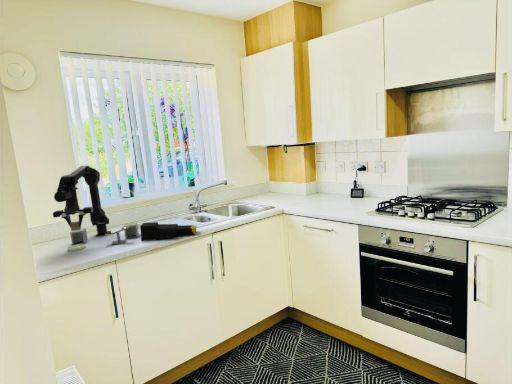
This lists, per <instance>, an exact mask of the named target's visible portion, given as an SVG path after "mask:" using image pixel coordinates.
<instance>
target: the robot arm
mask: <svg viewBox="0 0 512 384" xmlns="http://www.w3.org/2000/svg"><path fill="white" fill-rule="evenodd" d="M81 178H83V179H84V182H85V184H87V185H88V188H89V189H88V190H89V196H90V202H91V206H85V207H83V208H80V205H79V199H78V195H77V190H78V186H77V184H78V183H79V180H80V179H81ZM100 179H101V173H100V172H99V171H98V170H97V169H96V168H94V167H93V168H92V167H90V165H80V166H79V167H78V168H76V169H75V170H73V172H71V173H68V174H65V175H63V176H61V177H60V179H59V183H58V185H57V189H56V191H55V193H54V196H53V197H54V200H55V201H56V202H57V203H63V202H65V207H64V209H59V210H55V211H53V212H52V217H53V218H60V217H61V219H64V220H65V222H66V223H67V224H68V226H69V228H70V229H71V226H70V223H71V222H72V219H71V216H72V215H73V216H74V215H76V214H78V216H77V217H78V221H79V226H80V227H81V228H82V223H83V218H84V216H85V215H87V214H89V217H90V218H89V219H90V222H91V225H92V226H93V227H95V228H96V236H106V235H105V234H107V231H108V229H107V228H108V227H107V225H109V224H110V218H108V216H107V215H106V212H105V211H104V209H103V208H102V204H101V197H100V192H99V182H100Z"/></svg>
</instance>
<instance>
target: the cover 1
mask: <svg viewBox="0 0 512 384" xmlns="http://www.w3.org/2000/svg"><path fill="white" fill-rule="evenodd" d="M69 234H70V239H71V241H70V242H71V246H73V245H76V243H80V241H81V242H83V244H86V243H87V242H88V241H89V240H88V234H87V228H86V227H85V228H81V229H80V230H74V231H70V233H69ZM87 240H88V241H87Z"/></svg>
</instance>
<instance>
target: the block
mask: <svg viewBox="0 0 512 384" xmlns="http://www.w3.org/2000/svg"><path fill="white" fill-rule="evenodd" d="M70 226H71V228H70V230H71V231H74V230H80V229H82V226H81V227H80V226H79V220H78V221H71V223H70ZM70 226H69V227H70ZM71 231H70V232H71Z"/></svg>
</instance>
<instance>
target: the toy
mask: <svg viewBox="0 0 512 384" xmlns="http://www.w3.org/2000/svg"><path fill="white" fill-rule="evenodd" d="M139 228H140V229H139V230H140V239H141V242H142V241H144V240H145V241H153V239H155V240H157V239H158V240H159V239H165V238H166V239H167V238H172V237H185V236H186V237H187V236H196V234H197V224H196V225H195V224H194V225H193V224H191V225H189V224H188V225H179V224H178V223H162V224H161V223H159V222H158V221H156V222H155V221H153V222H143V223H141V224H140V226H139Z"/></svg>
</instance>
